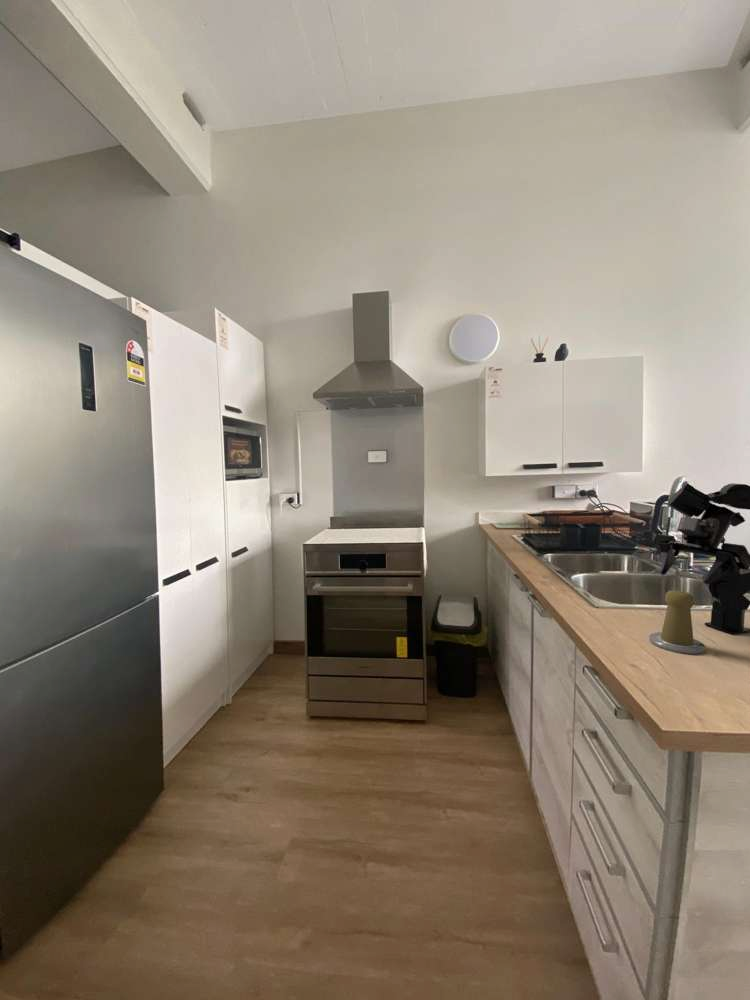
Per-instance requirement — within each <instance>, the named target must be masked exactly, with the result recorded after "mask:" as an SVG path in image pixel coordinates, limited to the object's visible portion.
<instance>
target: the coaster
mask: <svg viewBox="0 0 750 1000" xmlns="http://www.w3.org/2000/svg"><path fill="white" fill-rule="evenodd" d="M661 634H662V631H661V632H660V631H659V632H653V633H650V634H649V638H648V639H649V640H648V641H649V642H650V643H651V644H653V646H656V647H658V648H659V649H662V650H666V651H669V652H672V653H677V654H683V655H701V654H703V653H705V650H706V645H705V644H704V643H702V642H701V641H700V640H698V639H696V638H693V640H694V645H692V646H680V645H675V644H671V643H668V642H666V641H664V640H662V639H661Z"/></svg>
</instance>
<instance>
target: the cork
mask: <svg viewBox="0 0 750 1000" xmlns="http://www.w3.org/2000/svg"><path fill="white" fill-rule="evenodd" d="M664 600H665V603H666V612H665V617H664V620H663V624H662V625H663V626H662V630H661V632H662V634H661V639H662V640H664V641H666V642H668V643H671V644H675V645H680V646H692V645H694V640H693V639H694V634H693V631H694V630H693V620H692V613H691V609H692V607H693V606H694V603H695V599H694V596H693V595H692V594H691V593H689V592H687V591H683V590H676V589H675V590H674V589H673V590H669V591H667V592H666V593H665V595H664Z"/></svg>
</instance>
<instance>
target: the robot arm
mask: <svg viewBox="0 0 750 1000" xmlns="http://www.w3.org/2000/svg"><path fill="white" fill-rule="evenodd" d="M721 505H725V506H721ZM666 506H667V507H670V508H671V509H673V510H674V511H677V512H678V513H680V514H682V515H683V516H681V517H680V520H679V524H678V527H677V531H678V532H680V533H682V539H683V540H684V541H686V542H681V541H677V540H676V538H675V536H674V535H669V534H661V533H657V534H655V535H654V536H653V538H652V540H651V543H652V545H654V547H655V550H656V551H657V552H658V554H659V555H660V557H661V558H660V560H661V561H660V571H659V572H660V574H661V576H664V575H666V574H667V573H668V572H669V570H670V569H671V567H672V566H674V564H675V563H676V561H677V560H678V559H677V556H679V554H680V552H685V553H690V554H691V553H692V554H696V555H697V556H705V557H709V558H711V557H712V558H715V559H714V562H713V564H712V565H711V567H710V569H709V570H708V571H707V572H706V573H705V574H704V575H703V577H702V580H701V584H702V587H703V588H704V589H705V590H706V592H708V593H709V594H710V595H711V599H714V600H713V602H712V606H711V607H712V608H711V610H710V611H711V613H710V621H708V622H704V625H705V626H707V627H709V628H713V629H715V630H718V631H721V632H724V633H727V634H729V635H730V634H731V635H736V634H742V633H744V632H745V633H749V632H750V628H748V627H745V615H746V614H745V613H746V611H747V610H748V609H749V607H750V600H749V599H748V598H747V597H746V596H745V595H746V594H748V593H749V592H750V553H749V551H748V549H747V547H746V546H745V545H743V544H737V543H728V542H726V538H725V535H726V533H727V531H728V530H729V528H730V526H732V527H738V526H739V525H741V524H743V523H745V522H746V520H745V518H744V516H743V515H741V512H740V511H739V512H735V511H733V510H731V509H730V508H735V509H740V510H749V511H750V485H748V484H744V483H743V484H742V483H728V484H726V485H724V486H722V487H721V489H720V490H718V491H715V492H710V493H707V494H705V493H704V492H702V491H700V490H698V489H697V488H695V487H694V486H693V485H691V484H689V483H684V485H682V487H680V489H678V490H677V491H676V492H675V493H673V494H672V495H671V497H670V498H669V499H668V501H667V503H666ZM728 507H729V508H728ZM699 516H701V517H700V518H698V517H699ZM720 544H721V546H720ZM719 546H720V548H719Z"/></svg>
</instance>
